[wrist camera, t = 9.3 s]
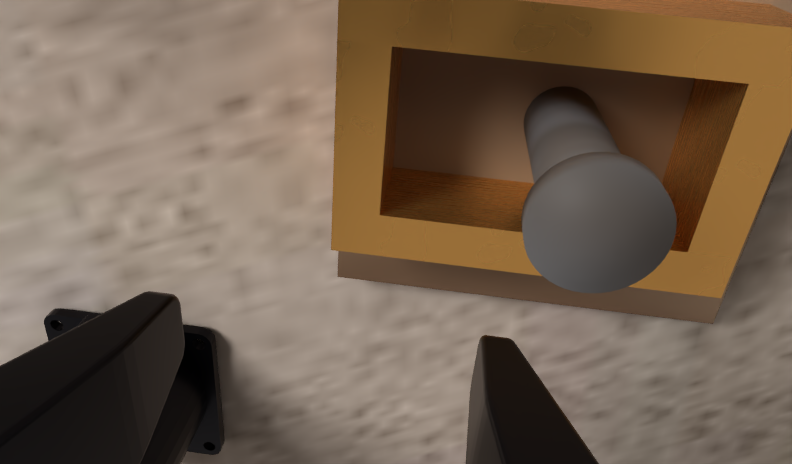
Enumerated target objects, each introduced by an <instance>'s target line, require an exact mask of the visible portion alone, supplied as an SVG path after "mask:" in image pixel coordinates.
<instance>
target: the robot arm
mask: <svg viewBox="0 0 792 464" xmlns="http://www.w3.org/2000/svg"><path fill="white" fill-rule="evenodd" d="M60 322H61V323H60ZM44 325H45V329H46V333H47V336H48V340H49V341H48V342H46V343H44V344H42V345H40V346H38V347H36V348H34V349H32V350H30V351H28V352H26V353H24V354H22V355H20V356H19V357H17V358H15V359H13V360H11V361H9V362H7V363H5V364H3V365H1V366H0V464H181V462H182V460H183V458H184V456H185V454H186V452H187V451H189V452H196V453H203V454H210V455H215V454H218V453H219V452H220V451H221V449H222V446H223V444H224V430H223V419H222V408H221V396H220V385H219V373H218V362H217V351H216V339H215V336H214V334H213V333H212V332H211V331H210V330H208V329H206V328H203V327H196V326H189V325H183V323H182V315H181V307H180V302H179V300H178V298H177V297H176V296H175V295H173V294H167V293H160V292H151V291H148V292H144V293H142V294H140V295H138V296H136V297H134V298H132V299H130V300H128V301H126V302H124V303H122V304H120V305H118V306H116V307H114V308H112V309H111V310H109V311H107V312H105V313H103V314H98V313H90V312H83V311H75V310H68V309H54V310H52V311H51V312H50V313H49V314H48V315H47V316H46V318H45V319H44ZM197 339H200V340H202V341H203V342H204V343H202V342H199V341H198V340H197ZM466 464H599V463H598V462H597V460H596V459H595V457H594V456H593V454H592V453H591V452H590V450H589V449H588V447H587V446H586V444H585V443H584V442H583V440H582V439H581V437H580V436H579V434H578V433H577V431H576V430H575V429H574V427H573V426H572V424H571V423H570V421H569V420H568V419H567V417H566V416H565V414H564V413H563V411H562V410H561V409H560V407H559V406H558V404H557V403H556V401H555V400H554V398H553V397H552V396H551V394H550V393H549V391H548V390H547V388H546V387H545V386H544V384H543V383H542V381H541V380H540V378H539V377H538V376H537V374H536V373H535V371H534V370H533V368H532V367H531V365H530V364H529V363H528V361H527V360H526V358H525V357H524V355H523V354H522V353H521V351H520V350H519V348H518V347H517V345H516V344H515V343H514V341H512V340H511V339H509V338H503V337H495V336H488V335H484V336H482V337H481V338H480V341H479V344H478V349H477V355H476V360H475V366H474V371H473V377H472V382H471V390H470V401H469V418H468V435H467V451H466Z"/></svg>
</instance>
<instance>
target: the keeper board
mask: <svg viewBox="0 0 792 464" xmlns="http://www.w3.org/2000/svg"><path fill="white" fill-rule="evenodd" d="M730 1H740V2H751V3H761V4H771V5H773V6H775V7H778V8H780V9H782V10H784V11H787V12H789V13H791V14H792V0H730ZM694 80H695V78H688V77H678V76H669V75H659V74H650V73H640V72H631V71H621V70H612V69H602V68H593V67H583V66H574V65H564V64H555V63H545V62H536V61H526V60H517V59H507V58H498V57H488V56H479V55H469V54H460V53H450V52H441V51H431V50H422V49H412V48H403V51H402V63H401V75H400V88H399V100H398V112H397V125H396V137H395V149H394V161H393V167H398V168H406V169H415V170H423V171H432V172H441V173H449V174H458V175H466V176H475V177H484V178H492V179H501V180H510V181H518V182H527V183H534V185H533V186H532V188H531V189H530V191H529V192H528V194H527V197H526V199H525V201H524V205H523V209H522V216H521V225H522V233H523V241H524V246H525V250H526V253H527V256H528V258H529V260H530V261H531V263H532V265H533V266H534V267H535V269H536V270H537V271H538V272H539V273H540V274H541V275H542V276H537V275H529V274H521V273H513V272H505V271H497V270H489V269H481V268H473V267H465V266H457V265H449V264H441V263H433V262H425V261H417V260H409V259H400V258H392V257H384V256H376V255H368V254H360V253H352V252H344V251H339V254H338V277H345V278H353V279H361V280H369V281H377V282H385V283H392V284H400V285H408V286H416V287H424V288H432V289H440V290H448V291H456V292H464V293H472V294H480V295H488V296H496V297H504V298H512V299H520V300H528V301H536V302H544V303H552V304H560V305H568V306H575V307H583V308H591V309H599V310H607V311H615V312H623V313H631V314H639V315H647V316H655V317H663V318H671V319H679V320H687V321H695V322H703V323H711V324H713V322H714V320H715V317H716V315H717V312H718V310H719V308H720V305H721V303H722V300H723V298H724V296H725V293H726V291H727V288H728V286H729V284H730V281H731V279H732V276H733V274H734V272H735V269H736V267H737V264H738V262H739V260H740V257H741V255H742V252H743V250H744V248H745V245H746V243H747V240H748V238H749V236H750V233H751V231H752V228H753V226H754V223H755V221H756V219H757V216H758V214H759V211H760V209H761V207H762V204H763V202H764V199H765V197H766V195H767V192H768V190H769V187H770V185H771V183H772V180H773V178H774V175H775V173H776V171H777V168H778V166H779V163H780V161H781V159H782V156H783V154H784V151H785V149H786V147H787V144H788V142H789V139H790V137H791V135H792V129H791V131H790V133H789V136H788V138H787V141H786V143H785V145H784V148H783V150H782V153H781V155H780V158H779V160H778V162H777V165H776V167H775V170H774V172H773V174H772V177H771V179H770V182H769V184H768V186H767V189H766V191H765V194H764V196H763V199H762V201H761V203H760V206H759V208H758V211H757V213H756V215H755V218H754V220H753V223H752V225H751V227H750V230H749V232H748V235H747V237H746V239H745V242H744V244H743V247H742V249H741V252H740V254H739V256H738V259H737V261H736V264H735V266H734V268H733V271H732V273H731V276H730V278H729V280H728V283H727V285H726V288H725V290H724V293H723V295H722V297H721V298H714V297H706V296H698V295H690V294H682V293H674V292H666V291H658V290H650V289H642V288H634V287H628V286H630V285H632V284H634V283H636V282H638V281H640V280H642V279H643V278H645V277H646V276H647V275H649V274H650V273H651V272H653V271H654V270H655V269H656V268H657V267H658V266H659V265H660V264H661V262H662V261H663V260H664V259H665V257H666V256H667V254H668V252H669V251H670V249H671V246H672V244H673V242H674V238H675V234H676V226H677V221H676V212H675V208H674V205H673V203H672V200H671V198H670V197H669V195H668V193H667V192H666V190H665V188H664V187H663V185H662V180H663V177H664V174H665V171H666V168H667V165H668V161H669V158H670V155H671V152H672V149H673V146H674V143H675V140H676V136H677V133H678V130H679V127H680V124H681V121H682V118H683V115H684V111H685V108H686V105H687V102H688V99H689V96H690V93H691V90H692V86H693V83H694Z"/></svg>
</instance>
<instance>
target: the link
mask: <svg viewBox="0 0 792 464" xmlns="http://www.w3.org/2000/svg"><path fill="white" fill-rule="evenodd" d="M403 48H412V49H422V50H431V51H441V52H450V53H460V54H469V55H479V56H488V57H498V58H507V59H517V60H526V61H536V62H545V63H555V64H564V65H574V66H583V67H593V68H602V69H612V70H621V71H631V72H640V73H650V74H659V75H669V76H678V77H688V78H695V80H694V83H693V86H692V90H691V93H690V96H689V99H688V102H687V105H686V108H685V111H684V115H683V118H682V121H681V124H680V127H679V130H678V133H677V136H676V140H675V143H674V146H673V149H672V152H671V155H670V158H669V161H668V165H667V168H666V171H665V174H664V177H663V180H662V185H663V187H664V188H665V190H666V192H667V193H668V195H669V197H670V198H671V200H672V203H673V205H674V208H675V212H676V221H677V226H676V234H675V238H674V242H673V244H672V246H671V249H670V251H669V252H668V254H667V256H666V257H665V259H664V260H663V261H662V262H661V264H660V265H659V266H658V267H657V268H656V269H655V270H654V271H653V272H651V273H650V274H649V275H647V276H646V277H645V278H643V279H642V280H640V281H638V282H636V283H634V284H632V285H630V286H628V287H634V288H642V289H650V290H658V291H666V292H674V293H682V294H690V295H698V296H706V297H714V298H721V297H722V295H723V293H724V290H725V288H726V285H727V283H728V280H729V278H730V276H731V273H732V271H733V268H734V266H735V264H736V261H737V259H738V256H739V254H740V252H741V249H742V247H743V244H744V242H745V239H746V237H747V235H748V232H749V230H750V227H751V225H752V223H753V220H754V218H755V215H756V213H757V211H758V208H759V206H760V203H761V201H762V199H763V196H764V194H765V191H766V189H767V186H768V184H769V182H770V179H771V177H772V174H773V172H774V170H775V167H776V165H777V162H778V160H779V158H780V155H781V153H782V150H783V148H784V145H785V143H786V141H787V138H788V136H789V133H790V131H791V129H792V14H791V13H789V12H787V11H784V10H782V9H780V8H778V7H775V6H773V5H771V4H761V3H751V2H740V1H730V0H339V5H338V39H337V72H336V106H335V140H334V174H333V208H332V242H331V250H336V251H344V252H352V253H360V254H368V255H376V256H384V257H392V258H400V259H409V260H417V261H425V262H433V263H441V264H449V265H457V266H465V267H473V268H481V269H489V270H497V271H505V272H513V273H521V274H529V275H537V276H542V275H541V274H540V273H539V272H538V271H537V270H536V269H535V267H534V266H533V265H532V263H531V261H530V260H529V258H528V256H527V253H526V250H525V246H524V241H523V233H522V225H521V216H522V209H523V205H524V201H525V199H526V197H527V194H528V192H529V191H530V189H531V188H532V186H533V185H534V183H527V182H518V181H510V180H501V179H492V178H484V177H475V176H466V175H458V174H449V173H441V172H432V171H423V170H415V169H406V168H398V167H393V161H394V149H395V137H396V125H397V112H398V100H399V88H400V75H401V63H402V51H403Z"/></svg>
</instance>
